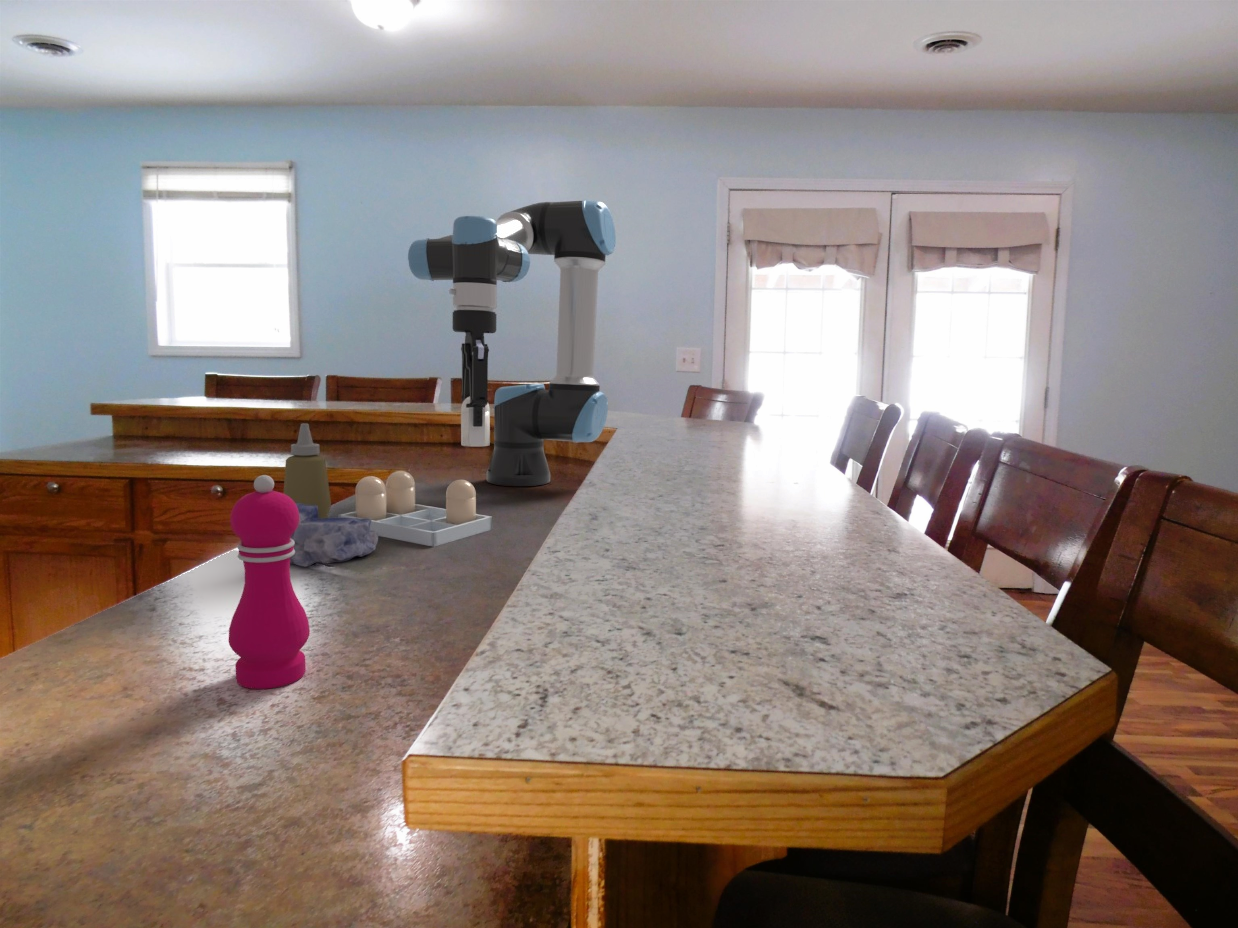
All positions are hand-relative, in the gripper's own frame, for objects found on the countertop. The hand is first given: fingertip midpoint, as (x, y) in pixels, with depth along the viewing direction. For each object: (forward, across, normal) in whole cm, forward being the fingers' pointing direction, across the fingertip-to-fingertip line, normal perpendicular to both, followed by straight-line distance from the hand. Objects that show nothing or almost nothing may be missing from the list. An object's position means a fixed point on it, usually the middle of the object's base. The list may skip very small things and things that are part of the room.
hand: (473, 442), depth 140 cm
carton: (+15, +3, -10) cm, 19 cm away
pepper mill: (+16, +59, -30) cm, 68 cm away
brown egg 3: (+14, +6, -3) cm, 16 cm away
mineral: (+16, +18, -25) cm, 34 cm away
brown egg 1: (+14, 0, -18) cm, 23 cm away
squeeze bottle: (+15, -7, -28) cm, 33 cm away
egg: (0, 0, 0) cm, 0 cm away
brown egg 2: (+14, -5, -12) cm, 19 cm away
